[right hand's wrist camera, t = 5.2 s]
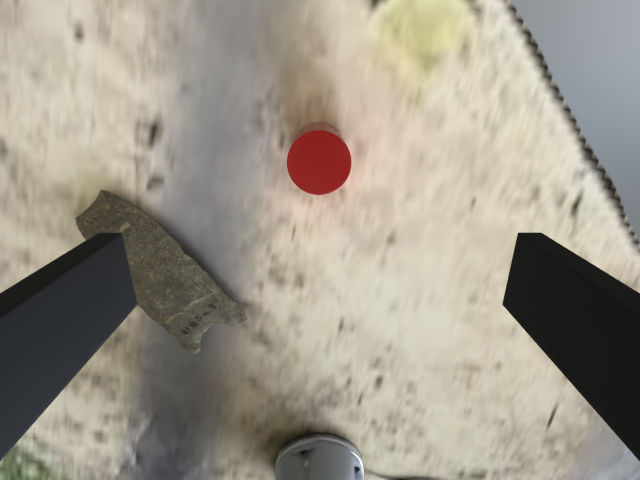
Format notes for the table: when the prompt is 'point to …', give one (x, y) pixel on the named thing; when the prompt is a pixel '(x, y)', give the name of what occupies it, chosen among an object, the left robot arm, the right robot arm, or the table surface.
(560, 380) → the table surface
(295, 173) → the tin
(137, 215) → the stone tool
